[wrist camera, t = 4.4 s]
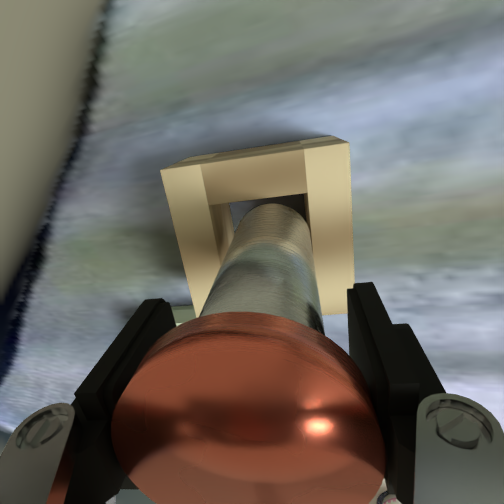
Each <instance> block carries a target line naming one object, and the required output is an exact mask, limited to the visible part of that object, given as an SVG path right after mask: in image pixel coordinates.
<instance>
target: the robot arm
mask: <svg viewBox="0 0 504 504" xmlns="http://www.w3.org/2000/svg"><path fill="white" fill-rule="evenodd" d="M347 310H348V333H349V355H350V357H351V358H352V359H353V360H354V362H355V363H356V365H357V366H358V367H359V369H360V370H361V372H362V374H363V376H364V378H365V380H366V382H367V384H368V387H369V390H370V394H371V398H372V401H373V405H374V409H375V412H376V416H377V419H378V423H379V426H380V430H381V433H382V437H383V441H384V444H385V448H386V459H387V463H386V471H385V475H384V478H383V479H385V483H386V487H387V491H388V494H389V495H396V499H397V500H398V501H399V502H401V503H402V504H504V433H503V430H502V428H501V426H500V423H499V422H498V421H497V419H496V418H495V417H494V416H493V415H492V413H491V412H489V411H488V410H487V409H486V408H484V407H483V406H482V405H480V404H479V403H477V402H475V401H473V400H471V399H469V398H466V397H463V396H459V395H456V394H448V393H446V391H445V390H444V388H443V386H442V384H441V382H440V380H439V379H438V377H437V375H436V373H435V371H434V369H433V367H432V366H431V364H430V362H429V360H428V358H427V356H426V354H425V353H424V351H423V349H422V347H421V345H420V343H419V342H418V340H417V338H416V336H415V334H414V332H413V330H412V329H411V327H410V326H409V324H407V323H406V324H392V322H391V320H390V318H389V316H388V314H387V311H386V309H385V307H384V305H383V303H382V301H381V299H380V296H379V294H378V292H377V290H376V288H375V286H374V284H373V282H366V283H354V284H353V288H349V289H347ZM175 327H176V322H175V319H174V316H173V312H172V309H171V306H170V304H169V303H168V302H165V301H164V299H162V298H159V299H147V300H144V301H143V303H142V304H141V305H140V306H139V308H138V309H137V310H136V312H135V313H134V314H133V316H132V317H131V318H130V320H129V321H128V322H127V324H126V325H125V326H124V328H123V329H122V330H121V332H120V333H119V334H118V336H117V337H116V338H115V340H114V341H113V342H112V344H111V345H110V346H109V348H108V349H107V350H106V352H105V353H104V354H103V356H102V357H101V358H100V360H99V361H98V362H97V364H96V365H95V366H94V368H93V369H92V370H91V372H90V373H89V374H88V376H87V377H86V378H85V380H84V381H83V382H82V384H81V385H80V386H79V388H78V389H77V390H76V392H75V393H74V395H75V397H76V398H75V400H74V401H73V402H72V404H71V405H70V404H68V403H57V404H52V405H49V406H46V407H44V408H42V409H40V410H38V411H36V412H35V413H33V414H31V415H30V416H29V417H28V418H26V419H25V420H24V421H23V422H22V423H21V424H20V425H19V426H18V427H17V428H16V429H15V430H14V432H13V433H12V435H11V436H10V438H9V440H8V442H7V444H6V446H5V448H4V450H3V452H2V454H1V456H0V504H115V495H116V494H118V492H119V490H120V489H139V488H138V487H137V486H136V485H135V484H134V483H133V482H132V481H131V480H130V478H129V477H128V476H127V474H126V473H125V472H124V470H123V468H122V467H121V465H120V463H119V461H118V459H117V457H116V454H115V451H114V448H113V444H112V439H111V422H112V417H113V412H114V410H115V407H116V405H117V402H118V400H119V399H120V397H121V395H122V394H123V392H124V390H125V388H126V387H127V385H128V383H129V382H130V380H131V378H132V376H133V375H134V373H135V371H136V370H137V368H138V366H139V364H140V363H141V361H142V359H143V358H144V356H145V355H146V353H147V352H148V350H149V349H150V347H151V346H152V345H153V344H154V343H155V342H156V341H157V340H158V339H159V338H160V337H162V336H163V335H164V334H165V333H167V332H168V331H169V330H171V329H173V328H175Z"/></svg>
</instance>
